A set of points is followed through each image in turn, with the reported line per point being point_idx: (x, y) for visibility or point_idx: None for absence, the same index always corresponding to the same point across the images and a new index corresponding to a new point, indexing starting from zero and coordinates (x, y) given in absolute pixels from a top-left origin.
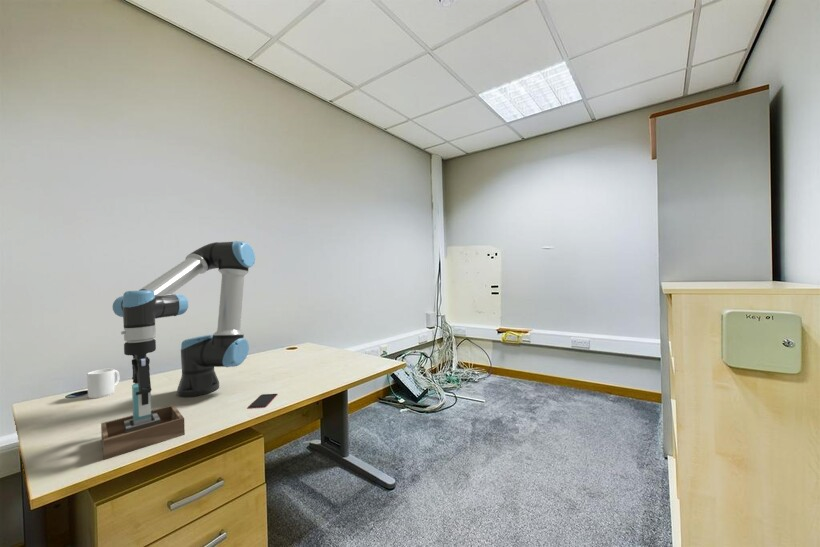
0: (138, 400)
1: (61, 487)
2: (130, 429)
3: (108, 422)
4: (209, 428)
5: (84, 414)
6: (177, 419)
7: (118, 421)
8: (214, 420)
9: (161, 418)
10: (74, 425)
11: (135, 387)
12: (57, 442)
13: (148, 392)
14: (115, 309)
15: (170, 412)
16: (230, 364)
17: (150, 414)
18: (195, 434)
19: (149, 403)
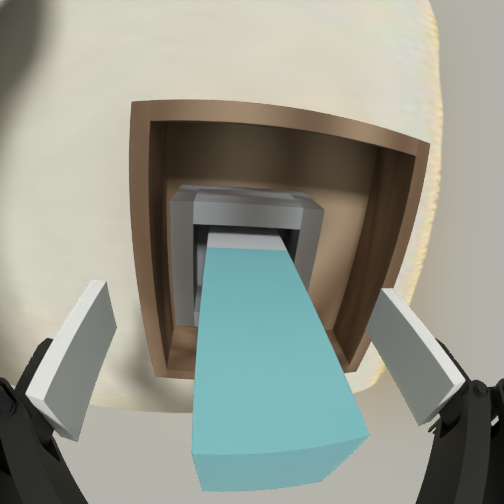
0: (408, 393)
1: (379, 371)
2: None
3: (165, 363)
4: (405, 65)
5: None
6: (419, 167)
7: (163, 337)
8: (344, 12)
9: (162, 166)
10: (17, 345)
11: (323, 478)
12: (106, 383)
13: (472, 386)
14: None
15: (158, 124)
16: None
17: (289, 260)
18: (414, 116)
19: (422, 331)
